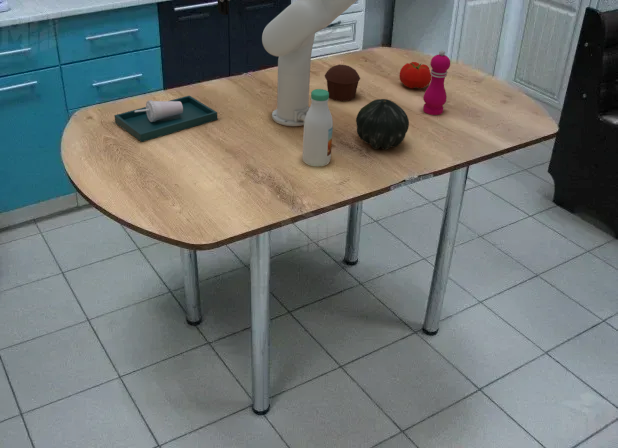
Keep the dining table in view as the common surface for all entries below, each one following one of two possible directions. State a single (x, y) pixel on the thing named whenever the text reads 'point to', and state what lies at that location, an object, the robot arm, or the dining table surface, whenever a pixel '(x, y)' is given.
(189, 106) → the tray
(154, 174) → the dining table surface
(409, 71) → the tomato
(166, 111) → the smoothie
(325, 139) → the milk bottle
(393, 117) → the squash
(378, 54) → the dining table surface
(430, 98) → the pepper mill
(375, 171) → the dining table surface
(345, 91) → the muffin
